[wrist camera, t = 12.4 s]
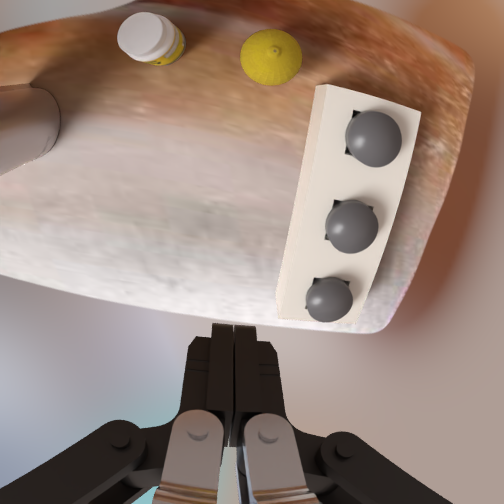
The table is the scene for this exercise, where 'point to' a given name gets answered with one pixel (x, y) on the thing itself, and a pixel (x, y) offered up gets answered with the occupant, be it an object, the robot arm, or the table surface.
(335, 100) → the knob panel
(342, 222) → the knob middle
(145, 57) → the supplement bottle
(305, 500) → the robot arm
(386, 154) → the knob
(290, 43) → the lemon
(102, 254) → the table surface
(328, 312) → the knob
